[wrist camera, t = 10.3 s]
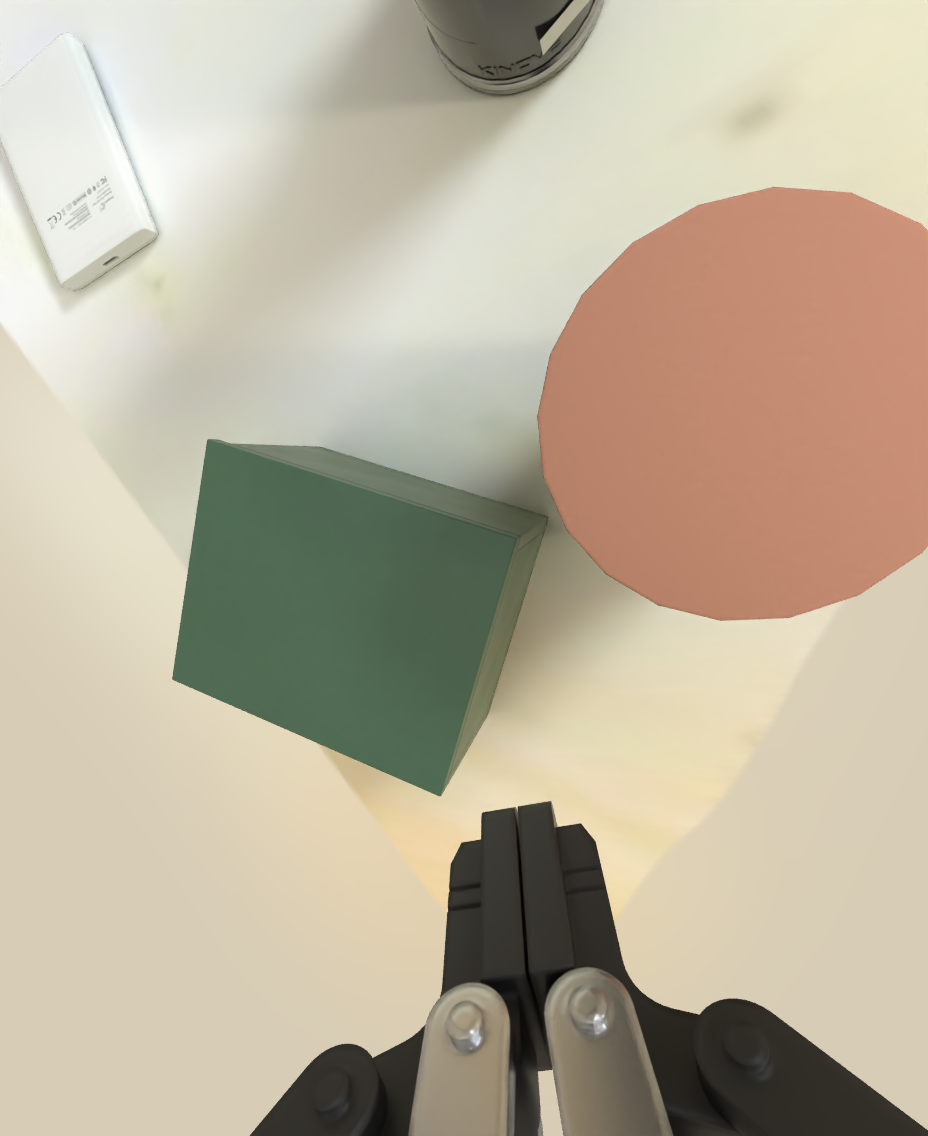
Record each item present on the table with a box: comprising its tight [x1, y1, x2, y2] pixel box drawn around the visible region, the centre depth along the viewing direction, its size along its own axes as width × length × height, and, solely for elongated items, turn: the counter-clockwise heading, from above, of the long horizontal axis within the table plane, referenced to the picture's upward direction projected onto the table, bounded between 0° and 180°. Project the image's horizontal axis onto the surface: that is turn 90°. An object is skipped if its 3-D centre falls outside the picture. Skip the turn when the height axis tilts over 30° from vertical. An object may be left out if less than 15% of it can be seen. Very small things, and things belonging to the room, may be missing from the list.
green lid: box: [172, 439, 520, 796], centre depth 29 cm, size 16×14×1 cm
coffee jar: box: [537, 187, 928, 621], centre depth 23 cm, size 11×11×18 cm
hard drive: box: [0, 33, 158, 291], centre depth 38 cm, size 2×8×12 cm
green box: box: [233, 444, 548, 786], centre depth 34 cm, size 16×14×9 cm
